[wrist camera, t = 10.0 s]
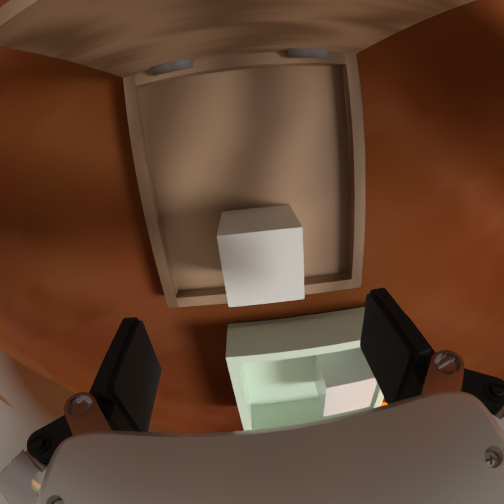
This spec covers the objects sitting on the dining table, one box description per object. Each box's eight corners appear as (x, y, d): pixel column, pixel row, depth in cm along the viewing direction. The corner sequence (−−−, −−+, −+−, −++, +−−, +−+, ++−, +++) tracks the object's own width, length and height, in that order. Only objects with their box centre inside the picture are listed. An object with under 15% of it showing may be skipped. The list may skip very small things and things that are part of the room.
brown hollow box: (346, 48, 15) (485, -25, 3) (354, 276, 22) (435, 416, 10) (130, 70, 15) (-19, 22, 3) (172, 296, 23) (124, 451, 10)
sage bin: (385, 302, 24) (404, 330, 20) (367, 387, 29) (377, 413, 25) (227, 324, 24) (225, 357, 20) (244, 405, 29) (245, 435, 25)
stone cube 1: (362, 342, 25) (378, 376, 21) (356, 373, 27) (369, 406, 22) (315, 350, 25) (326, 388, 21) (314, 381, 27) (323, 416, 23)
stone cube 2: (289, 204, 19) (302, 227, 15) (292, 264, 21) (304, 298, 17) (222, 211, 19) (216, 236, 15) (231, 271, 21) (228, 307, 17)
